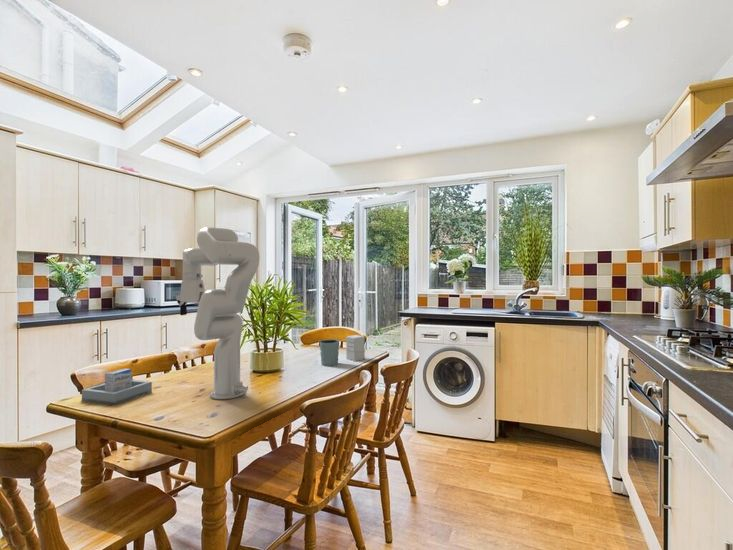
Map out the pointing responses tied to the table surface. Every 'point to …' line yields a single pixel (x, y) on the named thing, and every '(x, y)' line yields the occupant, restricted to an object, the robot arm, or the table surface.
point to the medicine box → (118, 380)
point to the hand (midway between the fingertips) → (192, 315)
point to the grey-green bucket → (329, 352)
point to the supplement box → (355, 347)
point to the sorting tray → (116, 393)
